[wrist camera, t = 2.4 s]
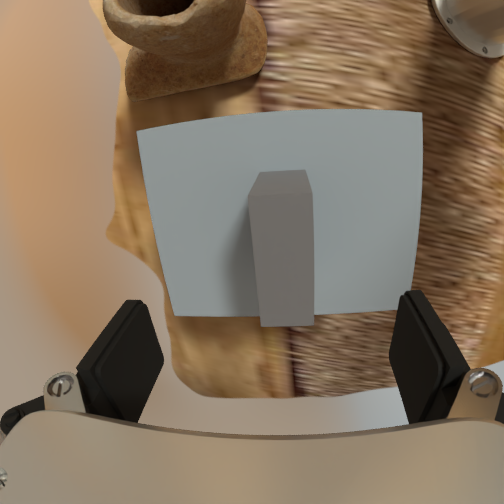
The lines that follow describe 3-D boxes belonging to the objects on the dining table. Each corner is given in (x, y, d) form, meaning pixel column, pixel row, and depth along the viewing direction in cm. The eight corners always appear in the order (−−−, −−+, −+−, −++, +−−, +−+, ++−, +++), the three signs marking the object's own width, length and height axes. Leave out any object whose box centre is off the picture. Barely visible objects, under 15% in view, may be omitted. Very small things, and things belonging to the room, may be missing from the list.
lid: (144, 130, 19) (84, 141, 13) (414, 112, 17) (470, 115, 10) (179, 307, 25) (147, 367, 19) (402, 300, 23) (431, 361, 16)
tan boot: (261, -14, 24) (241, -86, 10) (272, 82, 29) (260, 54, 15) (131, 14, 26) (52, -21, 12) (138, 103, 31) (52, 106, 17)
